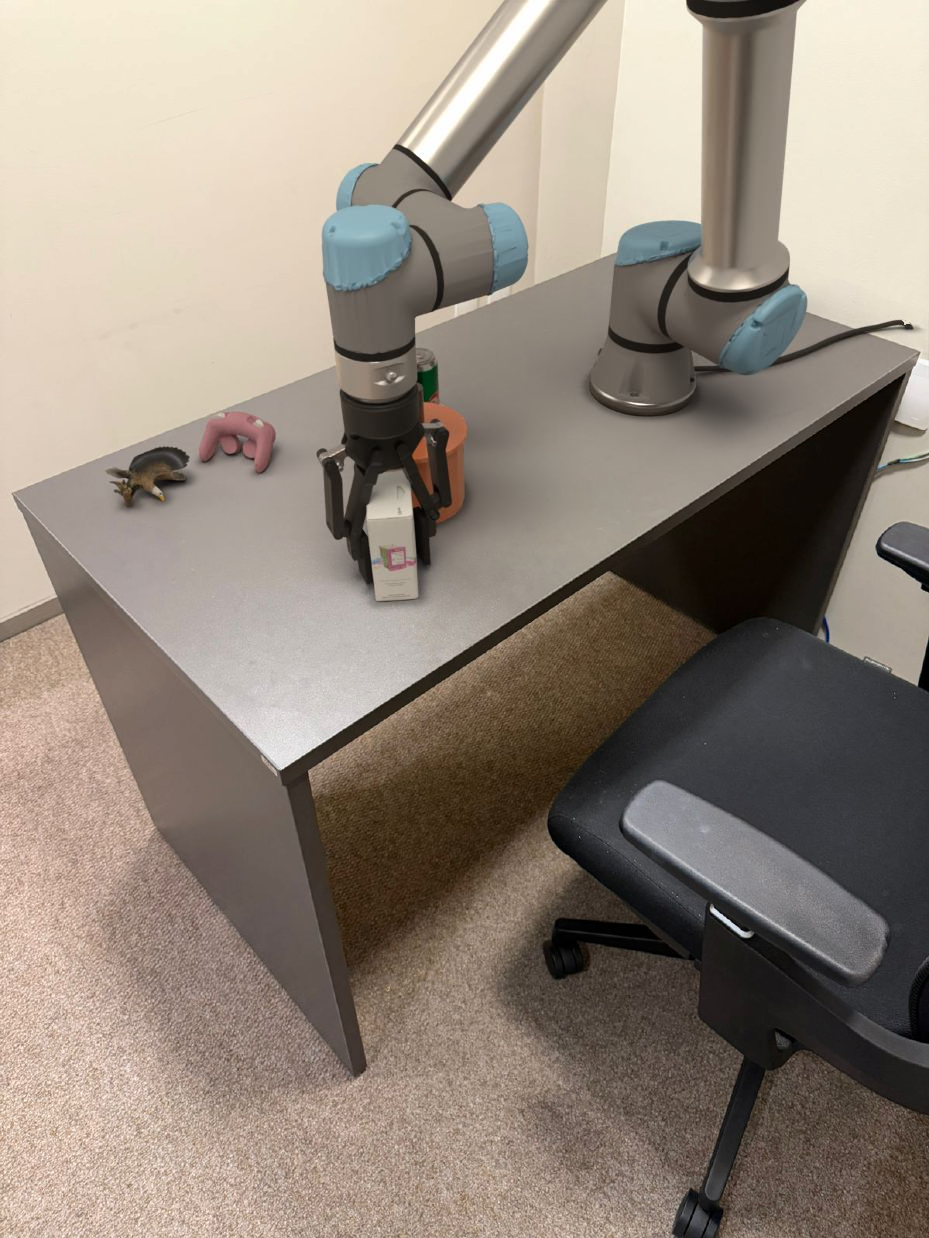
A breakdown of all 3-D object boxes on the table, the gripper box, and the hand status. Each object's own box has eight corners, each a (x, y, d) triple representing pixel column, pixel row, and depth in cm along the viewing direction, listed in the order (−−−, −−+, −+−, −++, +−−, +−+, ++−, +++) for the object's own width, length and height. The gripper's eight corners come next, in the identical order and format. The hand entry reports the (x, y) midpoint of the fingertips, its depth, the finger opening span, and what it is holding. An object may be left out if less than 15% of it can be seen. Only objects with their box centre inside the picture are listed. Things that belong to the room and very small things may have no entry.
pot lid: (441, 401, 108) (439, 352, 104) (485, 451, 100) (485, 400, 96) (348, 425, 105) (342, 375, 100) (386, 478, 97) (381, 427, 92)
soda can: (435, 447, 117) (432, 366, 108) (399, 443, 118) (393, 363, 109) (443, 427, 120) (441, 347, 112) (408, 424, 121) (403, 344, 113)
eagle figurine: (151, 516, 105) (203, 470, 109) (109, 470, 102) (164, 424, 106) (132, 520, 111) (182, 477, 115) (92, 477, 108) (145, 433, 112)
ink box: (372, 552, 101) (365, 469, 93) (414, 550, 102) (411, 466, 93) (373, 602, 95) (366, 517, 87) (418, 600, 96) (415, 515, 87)
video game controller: (278, 470, 116) (281, 417, 114) (260, 474, 112) (264, 420, 110) (214, 457, 119) (216, 406, 116) (195, 461, 114) (196, 407, 112)
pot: (441, 463, 114) (439, 400, 108) (479, 510, 107) (479, 445, 100) (361, 486, 111) (353, 422, 104) (394, 536, 103) (388, 471, 97)
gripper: (292, 428, 77) (325, 614, 93) (486, 380, 82) (485, 562, 98) (269, 390, 81) (303, 572, 98) (453, 346, 87) (457, 525, 103)
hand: (394, 567), depth 98 cm, fingers closed on ink box, 6 cm apart
